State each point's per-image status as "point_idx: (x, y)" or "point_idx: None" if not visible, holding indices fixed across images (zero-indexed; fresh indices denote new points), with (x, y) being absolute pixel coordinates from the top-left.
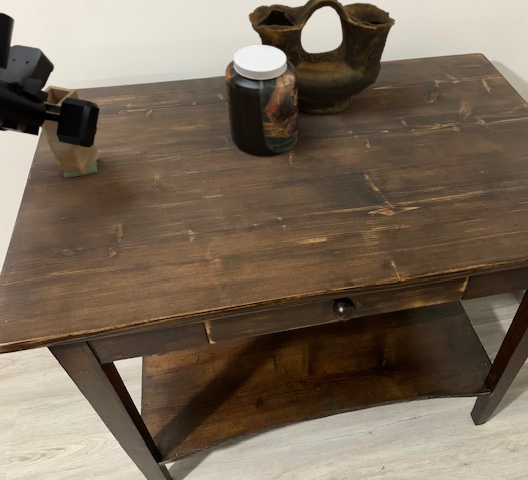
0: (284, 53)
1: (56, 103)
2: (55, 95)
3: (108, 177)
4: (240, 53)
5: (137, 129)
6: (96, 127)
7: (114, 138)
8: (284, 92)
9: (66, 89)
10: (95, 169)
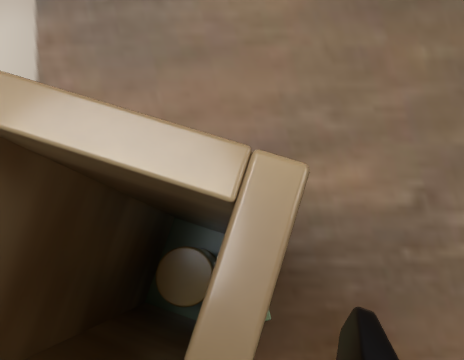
0: None
1: (60, 170)
2: (32, 148)
3: (321, 349)
4: None
5: (364, 53)
6: (379, 329)
7: (289, 106)
8: None
9: (166, 148)
10: (268, 318)
